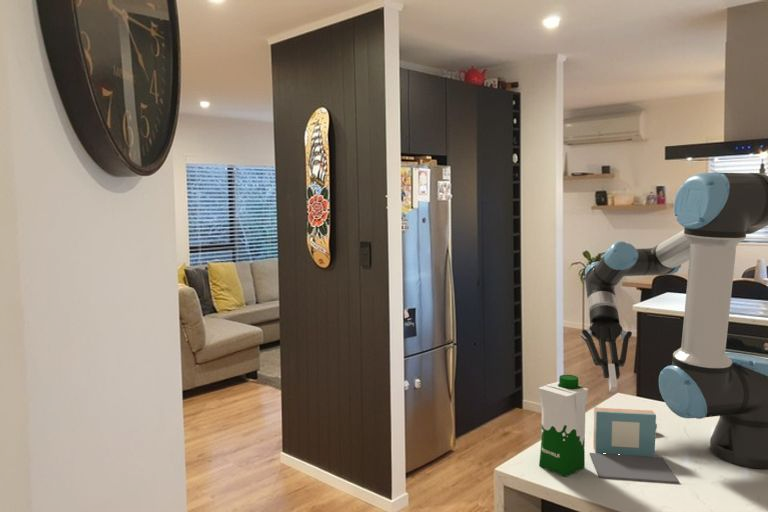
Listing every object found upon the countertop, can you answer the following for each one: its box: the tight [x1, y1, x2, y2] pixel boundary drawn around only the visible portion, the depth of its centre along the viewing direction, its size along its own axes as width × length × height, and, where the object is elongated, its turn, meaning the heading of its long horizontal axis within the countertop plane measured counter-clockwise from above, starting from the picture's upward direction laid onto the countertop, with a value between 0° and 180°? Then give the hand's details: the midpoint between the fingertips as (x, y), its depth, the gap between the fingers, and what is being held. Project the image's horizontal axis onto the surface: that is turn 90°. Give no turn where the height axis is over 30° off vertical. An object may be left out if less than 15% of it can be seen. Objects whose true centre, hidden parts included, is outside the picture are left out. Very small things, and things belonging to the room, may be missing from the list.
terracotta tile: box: [592, 407, 657, 457], centre depth 137 cm, size 3×13×10 cm, turn 80°
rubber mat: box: [589, 452, 680, 484], centre depth 129 cm, size 12×16×1 cm
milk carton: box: [538, 374, 589, 478], centre depth 129 cm, size 9×9×20 cm
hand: (613, 389), depth 147 cm, fingers closed
